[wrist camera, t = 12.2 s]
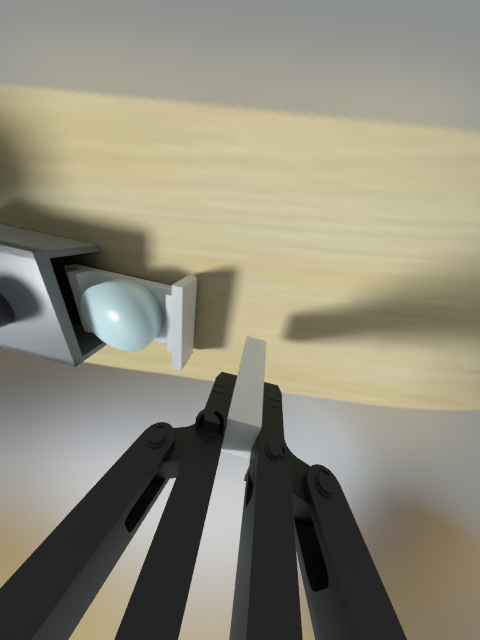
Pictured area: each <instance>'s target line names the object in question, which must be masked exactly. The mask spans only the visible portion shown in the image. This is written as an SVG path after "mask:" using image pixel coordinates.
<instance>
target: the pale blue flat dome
mask: <svg viewBox="0 0 480 640" xmlns="http://www.w3.org/2000/svg"><path fill="white" fill-rule="evenodd" d="M81 312H82V315H83V318H84V320H85V322H86V323H87V325H88V327H89V328H90V329H91V330H92V332H93V333H94V334H95V335H96V336H97V337H98V338H100V339H101V340H102V341H103V342H105V343H106V344H108V345H110V346H112V347H114V348H116V349H119V350H123V351H131V352H132V351H138V350H141V349H143V348H145V347H146V346H147V345H148V344H149V343H150V342H151V341H152V340H153V339H154V338H155V337H156V336H157V335H158V334H160V332H161V331H162V329H163V327H164V324H165V315H164V311H163V308H162V305H161V303H160V302H159V300H158V299H157V297H156V296H155V295H154V294H153V293H152V292H151V291H150V290H149V289H148V288H147V287H146V286H144V285H142V284H141V283H139V282H137V281H135V280H132V279H128V278H117V279H113V280H110V281H107V282H104V283H101V284H98V285H95V286H92V287H90V288H88V289H87V290H86V291H85V292H84V293H83V295H82V298H81Z"/></svg>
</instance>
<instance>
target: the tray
mask: <svg viewBox="0 0 480 640" xmlns="http://www.w3.org/2000/svg"><path fill="white" fill-rule="evenodd" d="M64 267H65V270H66V274H67V277H68V280H69V284H70V287H71V290H72V293H73V297H74V300H75V303H76V307H77V310H78V313H79V316H80V320H81V323H82V325H83V328H84V331H86V332H90V333H93V332H92V330H91V329H90V328H89V327H88V325H87V323H86V322H85V320H84V318H83V315H82V312H81V298H82V295H83V293H84V292H85V291H86V290H87V289H88V288H90V287H92V286H95V285H98V284H101V283H104V282H107V281H110V280H113V279H117V278H128V279H132V280H135V281H137V282H139V283H141V284H142V285H144V286H146V287H147V288H148V289H149V290H150V291H151V292H152V293H153V294H154V295H155V296H156V297H157V299H158V300H159V302H160V303H161V305H162V308H163V311H164V315H165V324H164V327H163V329H162V331H161V332H160V334H158V335H157V336H156V337H155V338H154V339H153V340H154V341H158V342H162V343H166V344H167V351H168V352H172V356H173V370H177V371H182V369H183V368H184V366H185V364H186V363H187V361H188V359H189V358H190V356H191V355H192V353H193V343H194V326H195V309H196V291H197V277H192V276H186V277H185V278H183V279H181V280H180V281H178V282H176V283H174V284H173V285H167V284H162V283H158V282H153V281H149V280H144V279H140V278H135V277H131V276H126V275H122V274H117V273H113V272H108V271H104V270H99V269H95V268H91V267H86V266H82V265H77V264H74V265H69V266H64Z"/></svg>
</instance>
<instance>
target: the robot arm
mask: <svg viewBox="0 0 480 640" xmlns="http://www.w3.org/2000/svg"><path fill="white" fill-rule="evenodd" d="M265 353H266V341H263V340H259V339H255V338H251V337H246V342H245V346H244V350H243V354H242V359H241V363H240V367H239V371H238V375H237V376H236V375H232V374H229V373H225V372H221V373H220V374H219V375H218V376H217V377H216V380H215V383H214V386H213V388H212V391H211V393H210V396H209V398H208V401H207V404H206V407H205V409H204V410H202V411H201V412H200V413H199V414H198V416H197V417H196V423H195V424H193V425H191V426H189V427H181V428H173V427H172V426H171V425H170V424H168V423H165V422H160V423H156V424H153V425H151V426H150V427H149V428H148V429H146V430H145V431H144V432H143V433H142V434H141V435H140V437H139V438H138V439H137V440H136V441H135V442H134V443H133V444H132V445H131V446H130V447H129V449H128V450H127V451H126V452H125V453H124V454H123V455H122V456H121V457H120V458H119V460H118V461H117V462H116V463H115V464H114V465H113V466H112V467H111V468H110V469H109V470H108V471H107V473H106V474H105V475H104V476H103V477H102V478H101V479H100V480H99V481H98V482H97V483H96V485H95V486H94V487H93V488H92V489H91V490H90V491H89V492H88V493H87V494H86V496H85V497H84V498H83V499H82V500H81V501H80V502H79V503H78V504H77V505H76V507H75V508H74V509H73V510H72V511H71V512H70V513H69V514H68V515H67V516H66V517H65V519H64V520H63V521H62V522H61V523H60V524H59V525H58V526H57V527H56V528H55V529H54V530H53V532H52V533H51V534H50V535H49V536H48V537H47V538H46V539H45V540H44V542H43V543H42V544H41V545H40V546H39V547H38V548H37V549H36V550H35V551H34V552H33V553H32V554H31V556H30V557H29V558H28V559H27V560H26V561H25V562H24V563H23V564H22V565H21V567H20V568H19V569H18V570H17V571H16V572H15V573H14V574H13V575H12V576H11V577H10V579H9V580H8V581H7V582H6V583H5V584H4V585H3V586H2V587H1V588H0V640H68V639H69V637H70V636H71V634H72V633H73V631H74V630H75V628H76V626H77V625H78V623H79V622H80V620H81V619H82V617H83V615H84V614H85V612H86V611H87V609H88V607H89V606H90V604H91V603H92V601H93V600H94V598H95V596H96V595H97V593H98V592H99V590H100V588H101V587H102V585H103V584H104V582H105V580H106V579H107V577H108V576H109V574H110V573H111V571H112V569H113V568H114V566H115V565H116V563H117V561H118V560H119V558H120V557H121V555H122V553H123V552H124V550H125V549H126V547H127V545H128V544H129V542H130V541H131V539H132V538H133V536H134V534H135V533H136V531H137V530H138V528H139V526H140V525H141V523H142V522H143V520H144V518H145V517H146V515H147V513H148V512H149V511H150V509H151V507H152V506H153V504H154V503H155V501H156V499H157V498H158V496H159V495H160V493H161V491H162V490H163V488H164V487H165V485H166V484H167V482H168V480H169V479H170V478H176V480H175V483H174V485H173V488H172V491H171V493H170V496H169V498H168V501H167V504H166V506H165V509H164V512H163V514H162V517H161V519H160V522H159V525H158V527H157V530H156V532H155V535H154V538H153V540H152V543H151V546H150V548H149V551H148V553H147V556H146V559H145V561H144V564H143V566H142V569H141V572H140V574H139V577H138V580H137V582H136V585H135V587H134V590H133V593H132V595H131V598H130V600H129V603H128V606H127V608H126V611H125V614H124V616H123V619H122V621H121V624H120V627H119V629H118V632H117V635H116V637H115V640H178V637H179V633H180V628H181V624H182V619H183V615H184V611H185V606H186V602H187V597H188V593H189V589H190V584H191V580H192V575H193V571H194V567H195V562H196V557H197V553H198V549H199V545H200V540H201V536H202V531H203V527H204V523H205V519H206V514H207V510H208V505H209V501H210V496H211V492H212V488H213V483H214V479H215V475H216V470H217V466H218V461H219V457H220V452H221V451H223V452H227V453H230V454H234V455H238V456H241V457H244V458H248V459H249V457H250V465H249V468H248V470H247V473H246V475H245V479H244V481H246V487H245V496H244V507H243V515H242V525H241V534H240V544H239V554H238V563H237V572H236V582H235V591H234V601H233V610H232V620H231V629H230V639H229V640H302V627H301V612H300V599H299V586H298V571H297V558H296V551H297V556H298V561H299V565H300V570H301V574H302V579H303V584H304V589H305V593H306V598H307V602H308V607H309V612H310V617H311V621H312V626H313V630H314V635H315V639H316V640H407V639H406V636H405V634H404V632H403V630H402V627H401V625H400V623H399V620H398V618H397V615H396V613H395V611H394V609H393V606H392V604H391V602H390V599H389V597H388V595H387V592H386V590H385V588H384V585H383V583H382V581H381V579H380V576H379V574H378V572H377V569H376V567H375V565H374V562H373V560H372V558H371V555H370V553H369V551H368V548H367V546H366V544H365V542H364V539H363V537H362V535H361V532H360V530H359V528H358V525H357V523H356V521H355V519H354V516H353V514H352V512H351V509H350V507H349V505H348V502H347V500H346V498H345V496H344V493H343V491H342V489H341V486H340V484H339V482H338V481H337V479H336V477H335V476H334V475H333V474H332V472H331V471H330V470H329V469H327V468H326V467H324V466H322V465H318V464H316V465H312V466H309V465H308V464H306V463H305V462H303V461H302V460H300V459H298V458H297V457H296V456H295V455H293V454H292V452H291V451H290V450H289V449H288V447H287V445H286V443H285V440H284V429H283V412H282V394H281V391H280V389H279V387H278V385H274V384H270V383H266V382H264V371H265Z"/></svg>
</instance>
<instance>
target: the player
mask: <svg viewBox="0 0 480 640" xmlns="http://www.w3.org/2000/svg"><path fill="white" fill-rule="evenodd" d="M99 251H100V248H99V245H96V244H91V243H87V242H82V241H77V240H73V239H68V238H64V237H59V236H54V235H50V234H45V233H40V232H36V231H31V230H27V229H22V228H17V227H13V226H8V225H3V224H0V348H3V349H7V350H12V351H15V352H19V353H23V354H27V355H31V356H35V357H39V358H42V359H47V360H51V361H55V362H58V363H62V364H66V365H70V366H74V367H76V366H77V365H79V364H80V363H82V362H83V361H84V360H86V359H87V358H89V357H90V356H91V355H93V354H94V353H96V352H97V351H98V350H100V349H101V348H103V347H104V346H105V345H107V344H106V343H105V342H103V341H102V340H101V339H100V338H98V337H97V336H96V335H95V334H94V333H90V332H86V331H84V328H83V325H80V324H76V323H72V322H71V321H70V318H69V315H68V312H67V309H66V306H65V303H64V300H63V297H62V294H61V291H60V288H59V285H58V282H57V279H56V276H55V273H54V271H53V268H52V265H51V262H50V259H49V258H55V257H63V256H70V255H77V254H84V253H92V252H99Z"/></svg>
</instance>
